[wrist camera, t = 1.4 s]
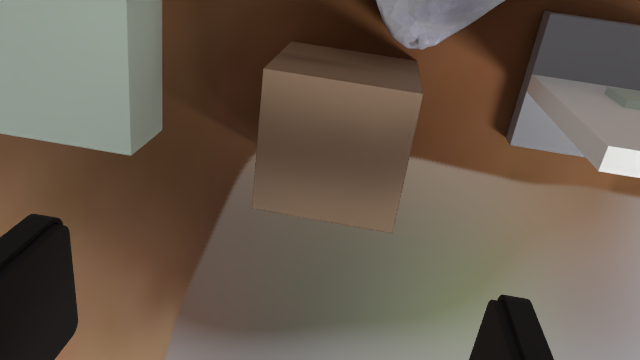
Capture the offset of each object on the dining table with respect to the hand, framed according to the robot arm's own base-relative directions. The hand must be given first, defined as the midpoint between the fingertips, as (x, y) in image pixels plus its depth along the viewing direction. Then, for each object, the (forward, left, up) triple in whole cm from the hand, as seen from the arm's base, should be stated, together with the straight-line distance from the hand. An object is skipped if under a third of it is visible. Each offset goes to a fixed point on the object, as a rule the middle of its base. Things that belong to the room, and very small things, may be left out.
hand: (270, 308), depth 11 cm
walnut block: (0, 0, -16) cm, 16 cm away
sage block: (+1, +13, -16) cm, 21 cm away
